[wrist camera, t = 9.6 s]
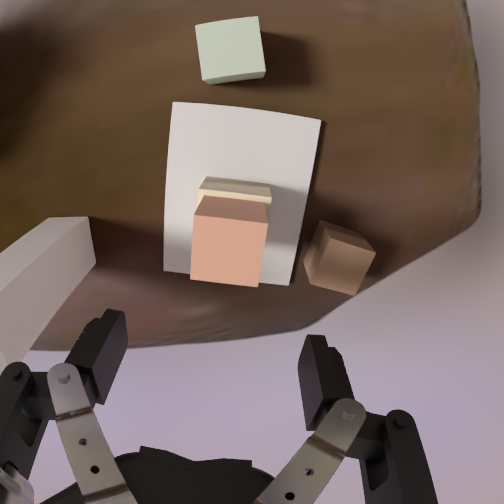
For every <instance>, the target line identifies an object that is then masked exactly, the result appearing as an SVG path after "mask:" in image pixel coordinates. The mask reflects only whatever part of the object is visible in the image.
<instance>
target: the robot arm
mask: <svg viewBox="0 0 504 504" xmlns="http://www.w3.org/2000/svg"><path fill="white" fill-rule="evenodd" d="M127 345H128V335H127V328H126V321H125V314H124V312H123V311H118V310H113V309H107V310H106V311H105V312H104V314H103V316H102V317H101V319H100V318H94V319H93V320H92V321H90V322H89V323H88V324H87V325H86V327H85V328H84V330H83V332H82V333H81V335H80V336H79V339H78V340H77V341H76V343H75V345H74V346H73V348H72V350H71V352H70V353H69V355H68V357H67V358H66V360H65V362H64V363H60V364H57V365H55V366H53V367H52V368H51V369H50V370H49V372H31V371H30V369H29V367H28V366H27V365H26V364H25V363H23V362H13V363H10V364H9V365H7V366H6V367H5V368H4V370H3V372H2V373H1V375H0V504H34V499H33V497H34V491H33V487H32V485H31V484H30V482H29V481H28V478H29V476H30V473H31V469H32V466H33V463H34V460H35V457H36V454H37V451H38V448H39V445H40V442H41V440H42V437H43V434H44V432H45V429H46V426H47V424H48V421H49V420H56V424H57V428H58V431H59V434H60V437H61V440H62V443H63V446H64V449H65V452H66V455H67V458H68V460H69V463H70V465H71V468H72V471H73V473H74V476H75V478H76V481H77V482H75V483H74V484H72V485H71V486H69V487H68V488H66V489H64V490H63V491H61V492H59V493H57V494H56V495H54V496H52V497H50V498H49V499H47V500H45V501H43V502H42V503H40V504H313V503H314V502H315V501H316V499H317V498H318V496H319V495H320V494H321V492H322V491H323V489H324V488H325V486H326V485H327V483H328V482H329V481H330V479H331V478H332V476H333V475H334V473H335V472H336V470H337V469H338V467H339V465H340V464H341V462H342V461H343V459H344V457H345V456H346V457H351V458H356V459H359V462H360V469H361V475H362V481H363V489H364V496H365V503H366V504H438V501H437V497H436V493H435V489H434V485H433V481H432V477H431V474H430V470H429V466H428V463H427V460H426V456H425V453H424V449H423V446H422V443H421V440H420V436H419V433H418V430H417V427H416V424H415V421H414V419H413V417H412V416H411V415H410V414H409V413H407V412H405V411H403V410H392V411H390V412H389V413H388V414H387V415H386V416H383V415H378V414H373V413H369V412H367V411H366V410H365V408H364V407H363V405H362V404H361V403H359V402H358V401H356V400H355V398H354V395H353V392H352V389H351V385H350V382H349V378H348V375H347V373H346V368H345V366H344V362H343V359H342V356H341V354H340V353H339V352H338V351H337V349H336V348H335V347H328V344H327V341H326V338H325V336H324V335H310V334H308V335H307V336H306V339H305V342H304V345H303V348H302V351H301V354H300V357H299V361H298V375H299V382H300V388H301V395H302V402H303V409H304V416H305V423H306V430H307V431H315V432H314V433H313V434H312V436H311V437H309V438H308V439H307V440H306V442H305V443H304V444H303V445H302V447H301V448H300V449H299V450H298V451H297V453H296V454H295V455H294V456H293V458H292V459H291V460H290V461H289V463H288V464H287V465H286V466H285V467H284V468H283V470H282V471H281V472H280V473H279V474H278V475H277V477H276V478H274V477H273V476H272V475H270V474H268V473H266V472H264V471H262V470H260V469H257V468H254V467H252V460H238V459H226V458H223V459H214V460H205V461H192V460H189V459H187V458H184V457H181V456H179V455H176V454H174V453H171V452H169V451H166V450H160V449H155V448H150V447H145V446H140V451H139V452H133V453H127V454H123V455H120V456H117V457H115V458H114V456H113V454H112V452H111V450H110V448H109V446H108V443H107V441H106V439H105V437H104V435H103V432H102V430H101V428H100V426H99V423H98V421H97V418H96V416H95V413H94V411H93V408H94V406H95V403H98V404H102V405H104V404H105V401H106V398H107V396H108V393H109V391H110V388H111V386H112V383H113V381H114V378H115V376H116V373H117V371H118V368H119V366H120V364H121V361H122V359H123V356H124V354H125V352H126V349H127Z"/></svg>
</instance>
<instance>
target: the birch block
mask: <svg viewBox="0 0 504 504" xmlns="http://www.w3.org/2000/svg"><path fill="white" fill-rule="evenodd" d="M204 195H207V196H216V197H225V198H234V199H242V200H250V201H258V202H265V206H266V213H267V219H268V218H269V212H270V206H271V200H272V196H271V192H270V188H269V184H267V183H260V182H252V181H244V180H236V179H228V178H219V177H210V176H206V178H205V179H204V181H203V183H202V184H201V186H200V187H199V190H198V201H197V208H198V206H199V204H200V202H201V200H202V198H203V196H204Z"/></svg>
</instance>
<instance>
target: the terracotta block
mask: <svg viewBox="0 0 504 504" xmlns="http://www.w3.org/2000/svg"><path fill="white" fill-rule="evenodd" d="M267 228H268V219H267V213H266V206H265V202H258V201H250V200H242V199H234V198H225V197H216V196H207V195H204V196H203V198H202V200H201V202H200V204H199V206H198V208H197V209H196V211H195V213H194V218H193V233H192V251H191V272H190V279H192V280H200V281H208V282H217V283H225V284H234V285H243V286H252V287H258V282H259V276H260V270H261V264H262V258H263V252H264V246H265V240H266V234H267Z"/></svg>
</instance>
